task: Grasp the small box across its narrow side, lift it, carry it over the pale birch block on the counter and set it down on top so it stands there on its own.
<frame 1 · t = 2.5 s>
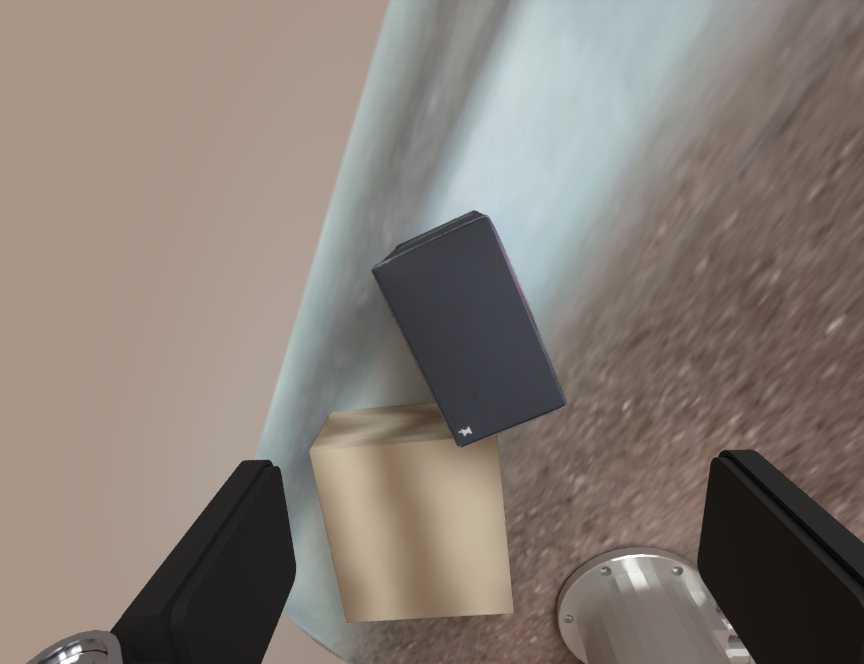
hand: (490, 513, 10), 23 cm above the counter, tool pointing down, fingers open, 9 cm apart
small box: (467, 296, 33), on the counter
birch block: (421, 483, 37), on the counter
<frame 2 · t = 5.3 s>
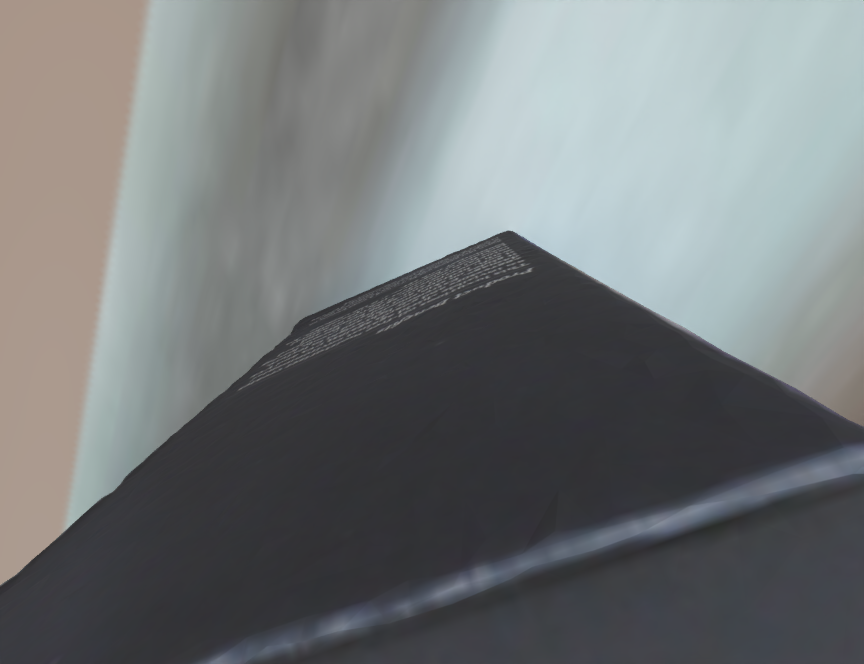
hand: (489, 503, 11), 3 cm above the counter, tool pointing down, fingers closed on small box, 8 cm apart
small box: (482, 441, 13), on the counter, touching gripper
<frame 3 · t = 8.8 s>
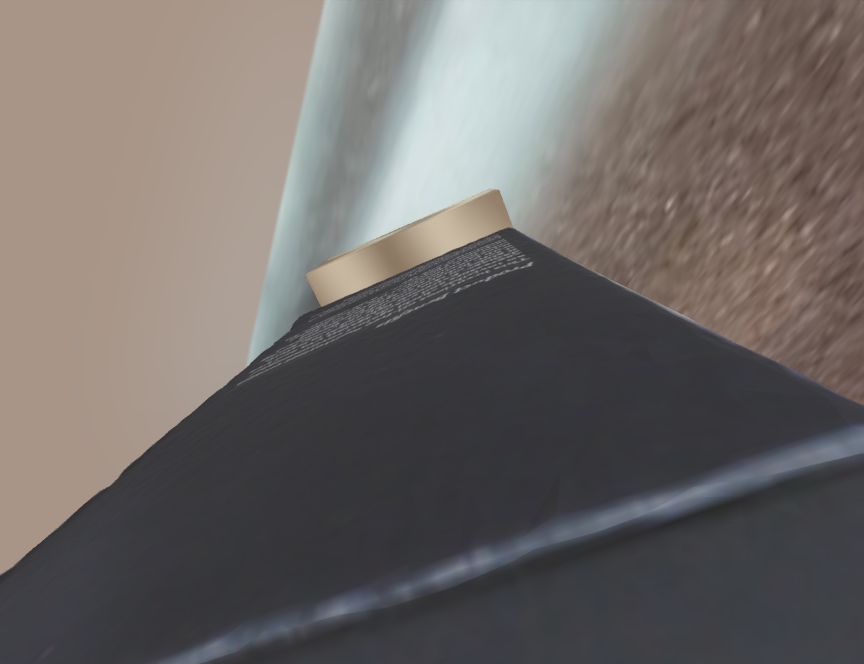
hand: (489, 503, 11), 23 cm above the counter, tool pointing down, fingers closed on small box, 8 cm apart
small box: (482, 438, 13), point 21 cm above the counter, touching gripper
birch block: (446, 315, 34), on the counter
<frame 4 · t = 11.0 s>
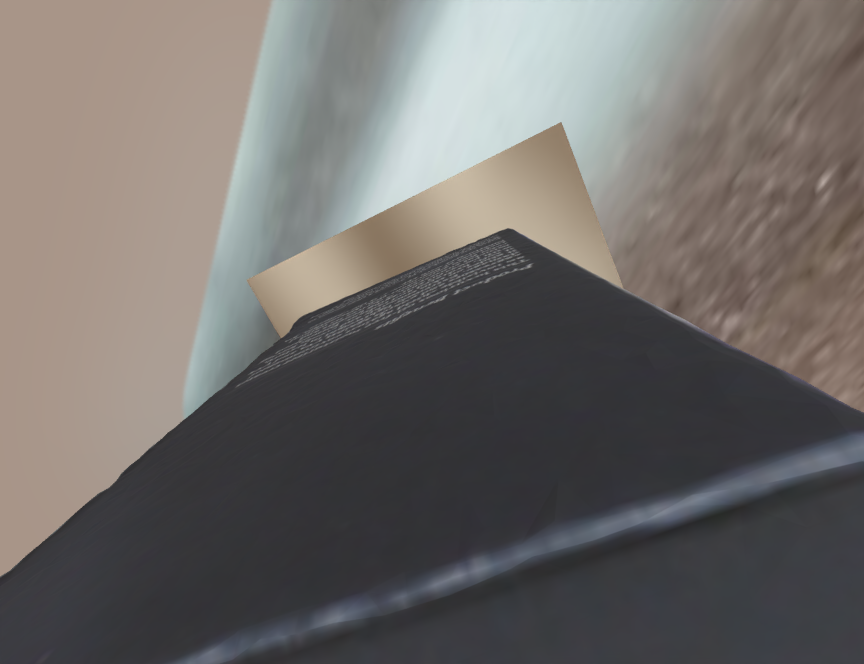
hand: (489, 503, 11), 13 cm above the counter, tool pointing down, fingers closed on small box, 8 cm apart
small box: (481, 439, 13), point 10 cm above the counter, touching gripper
birch block: (472, 333, 23), on the counter
when the fingers open (10 cm above the counter, at t = 12.7 s): small box drops 2 cm, point 5 cm above the counter.
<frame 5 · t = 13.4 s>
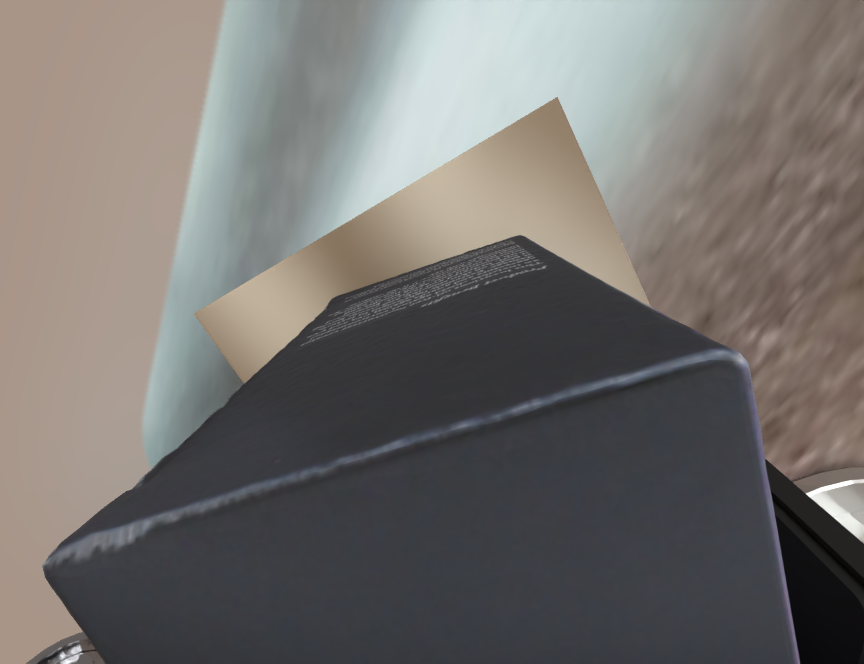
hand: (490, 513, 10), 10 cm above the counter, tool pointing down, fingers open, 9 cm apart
small box: (481, 416, 15), point 5 cm above the counter
birch block: (470, 350, 20), on the counter
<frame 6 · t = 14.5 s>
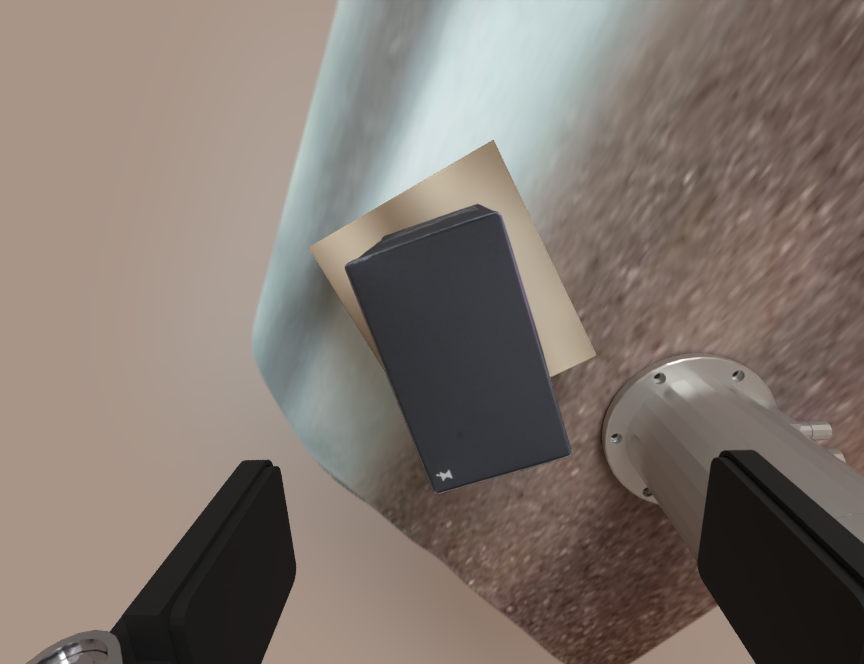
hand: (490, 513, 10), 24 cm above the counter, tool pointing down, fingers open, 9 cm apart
small box: (459, 303, 28), point 5 cm above the counter, touching birch block
birch block: (454, 282, 34), on the counter, touching small box
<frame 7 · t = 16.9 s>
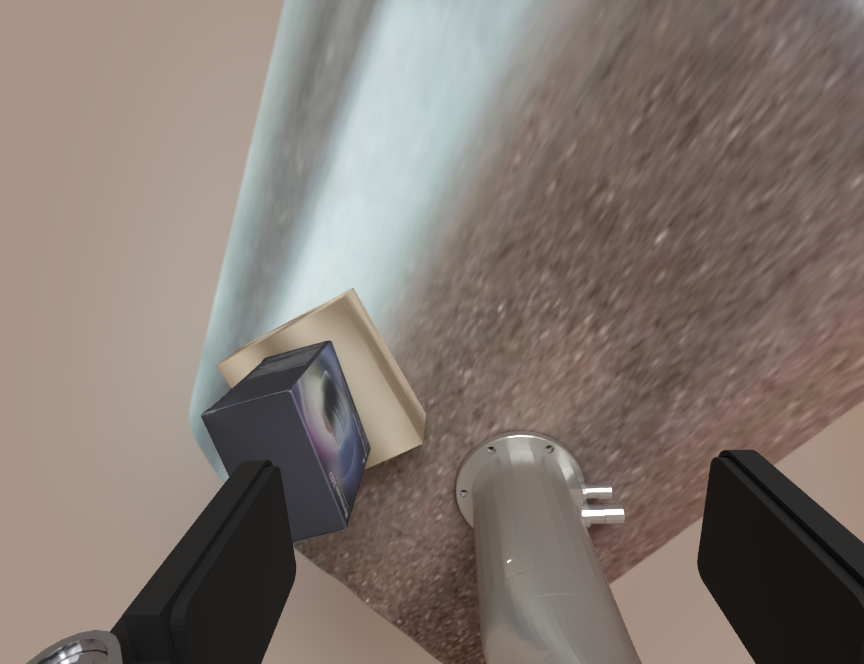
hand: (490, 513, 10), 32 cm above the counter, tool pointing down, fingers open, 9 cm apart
small box: (321, 403, 40), point 5 cm above the counter, touching birch block
birch block: (337, 378, 45), on the counter, touching small box
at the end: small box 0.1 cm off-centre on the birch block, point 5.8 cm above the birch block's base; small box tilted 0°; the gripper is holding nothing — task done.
